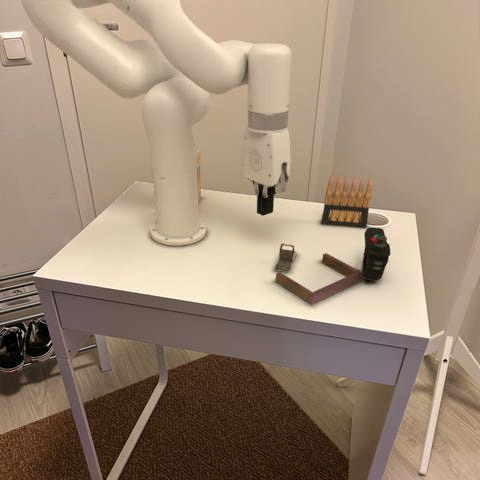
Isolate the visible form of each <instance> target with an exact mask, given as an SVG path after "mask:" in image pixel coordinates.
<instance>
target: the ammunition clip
mask: <svg viewBox="0 0 480 480" xmlns="http://www.w3.org/2000/svg"><path fill="white" fill-rule="evenodd" d="M365 183H366V181H365V177H364V176H361V179H360V182H359V184H358V180H357V176H356V175H355V176H354V177H353V179H352V182H351V185H350V177H349V175H346V177H345V179H344V182H343V187H342V176H341V174H339V175H338V176H337V179H336V182H335V187H334V176H333V174H331V175H330V176H329V179H328V182H327V187H326V191H325V197H324V204H323V211H322V215H321V223H320V224H321V225H322V226H324V225H325V226H335V227H346V228H358V229H367V225H368V218H369V212H370V211H369V210H370V205H371V200H372V190H373V189H372V188H373V177H370V178H369V179H368V181H367V185H366V189H365ZM357 184H358V189H357ZM349 187H350V189H349ZM341 189H342V191H341ZM349 190H350V191H349ZM364 191H365V192H364Z"/></svg>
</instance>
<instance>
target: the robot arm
mask: <svg viewBox="0 0 480 480" xmlns="http://www.w3.org/2000/svg"><path fill="white" fill-rule="evenodd" d="M20 2H21V5H22V6H23V9H24V12H25V13H26V15H27V17H28V19H29V20H30V22H31V23H32V25H33V26H34V28H35V29H36V30H37V31H38V32H39V33H40V34H41V35H42V36H43V37H44V38H45V39H46V40H47V41H48V42H49V43H50V44H52V45H53V46H55V47H56V49H59V50H60V51H61V52H62V53H64V54H66V55H67V56H68V57H69V58H71V59H72V60H73V61H75V62H76V63H77V64H78V65H79V66H81V68H83V69H84V70H85V71H86V72H88V73H89V74H90V75H91V76H93V77H94V78H95V79H96V80H98V81H99V82H100V83H102V84H103V85H104V86H106V87H107V88H108V89H109V90H110V91H112V92H113V93H114V94H116V95H117V96H118V97H120V98H123V99H133V98H138V97H140V96H143V95H145V96H144V98H143V100H142V105H141V118H142V122H143V126H144V130H145V133H146V138H147V143H148V147H149V148H148V150H149V157H150V158H149V159H150V168H151V175H152V176H151V178H152V188H153V190H152V191H153V201H154V209H152V214H153V215H154V216H155V221H156V223H154V224H153V225H152V226H151V228H150V237H151V239H152V240H154V241H155V242H157V243H159V244H161V245H166V246H177V247H178V246H187V245H188V246H189V245H192V244H195V243H198V242H199V241H201V240H203V239H204V238H205V237H206V236H207V235H206V234H207V228H206V226H205V224H203V223H202V222H201V221H200V218H199V217H200V215H199V200H198V184H197V159H196V148H197V147H196V145H195V140H194V136H193V132H192V127H193V126H194V125H196V124H198V123H199V122H201V121H202V120H203V119H204V118H205V117H206V116H207V114H208V112H209V110H210V106H211V97H210V94H211V95H212V94H213V95H224V94H226V93H228V92H229V91H232V90H234V89H236V88H238V87H239V88H240V87H242V86H245V85H247V124H246V125H245V128H244V133H243V139H242V146H241V147H242V148H241V165H240V166H241V168H240V169H241V174H242V175H243V176H244V177H245V178H246V179H247V180H249V181H250V182H251V183H252V184H253V186H254V193H255V195H256V214H258V215H260V216H262V217H264V216H267V215H269V214H273V213H274V207H275V206H274V205H275V204H274V202H275V196H276V195H277V193H284V192H286V191H287V184H286V183H288V182H289V180H290V177H291V176H290V175H291V141H290V140H291V138H290V130H288V129H289V128H288V127H289V108H290V90H291V88H290V87H291V74H292V73H291V72H292V71H291V70H292V51H291V49H290V48H291V47H289V46H288V45H286V44H283V43H276V42H273V43H272V42H265V43H264V42H263V43H252V42H248V41H243V40H237V39H229V40H225V41H221V42H218V43H217V42H216V41H215V40H213V39H212V38H211V37H210V36H208V35H207V34H206V33H204V32H203V31H202V30H201V29H200V28H199V27H197V26H196V25H195V23H193V21H191V20H190V19H189V17H188V16H187V14H185V12H184V10H183V7H182V5H181V4H182V3H181V0H20ZM107 4H111V5H113V6H114V7H115V8H117V9H118V10H119V11H120V12H122V13H123V14H125V15H126V16H127V17H128V18H130V20H132V21H133V22H135V23H136V25H137V26H139V27H140V28H142V29H143V30H144V31H145V32H146V33H147V34H148V35H150V36H151V38H152V39H153V41H154V42H153V41H150V40H146V39H136V40H130V41H129V40H124V39H123V38H121V37H119V36H118V35H117V34H115V33H114V32H113V31H111V30H110V29H108V28H107V27H106V26H105V25H104V24H103V23H102V22H100V21H99V20H97V19H96V18H94V17H93V16H92V15H90V14H87V12H84V11H83V10H81V9H88V8H94V7H97V6H102V5H107Z"/></svg>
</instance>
